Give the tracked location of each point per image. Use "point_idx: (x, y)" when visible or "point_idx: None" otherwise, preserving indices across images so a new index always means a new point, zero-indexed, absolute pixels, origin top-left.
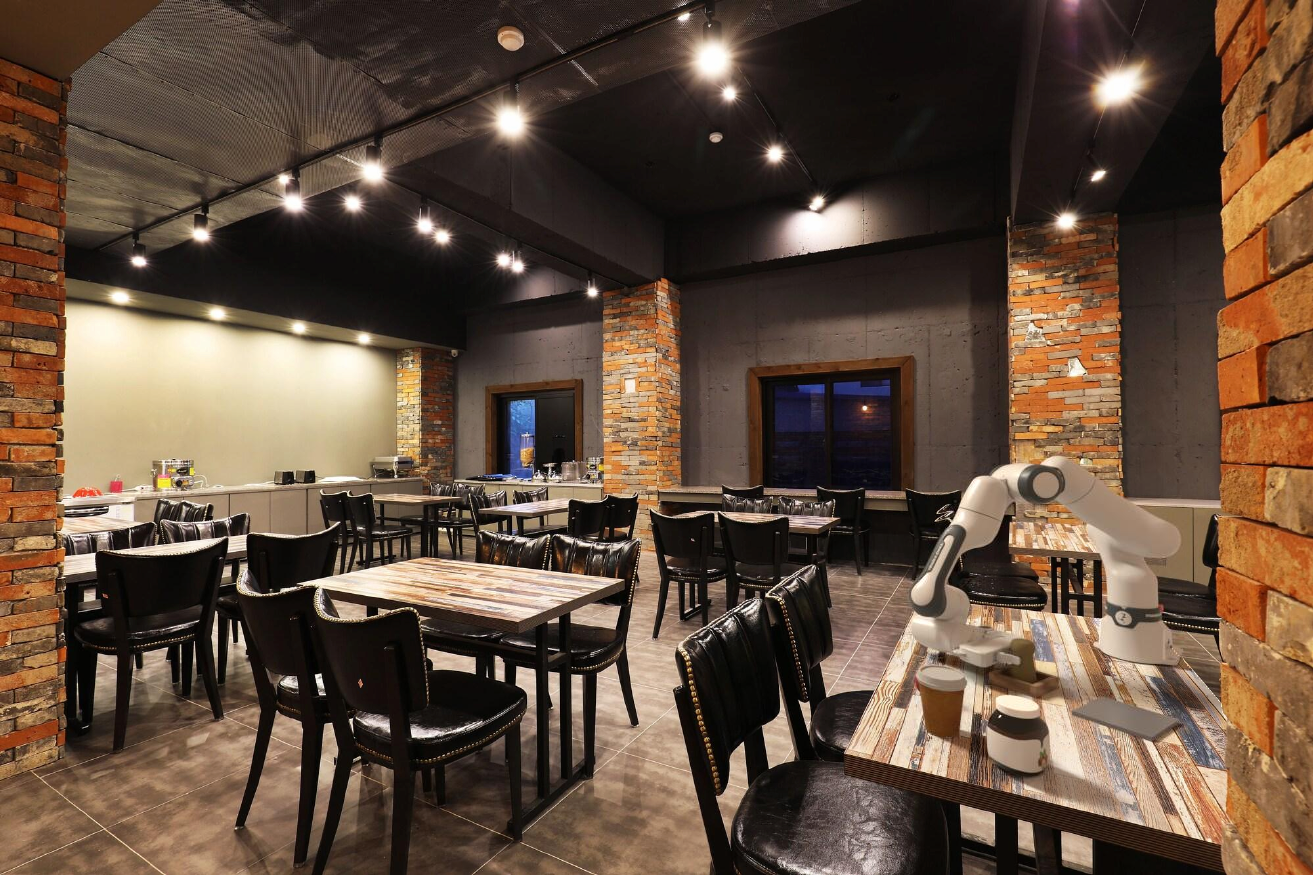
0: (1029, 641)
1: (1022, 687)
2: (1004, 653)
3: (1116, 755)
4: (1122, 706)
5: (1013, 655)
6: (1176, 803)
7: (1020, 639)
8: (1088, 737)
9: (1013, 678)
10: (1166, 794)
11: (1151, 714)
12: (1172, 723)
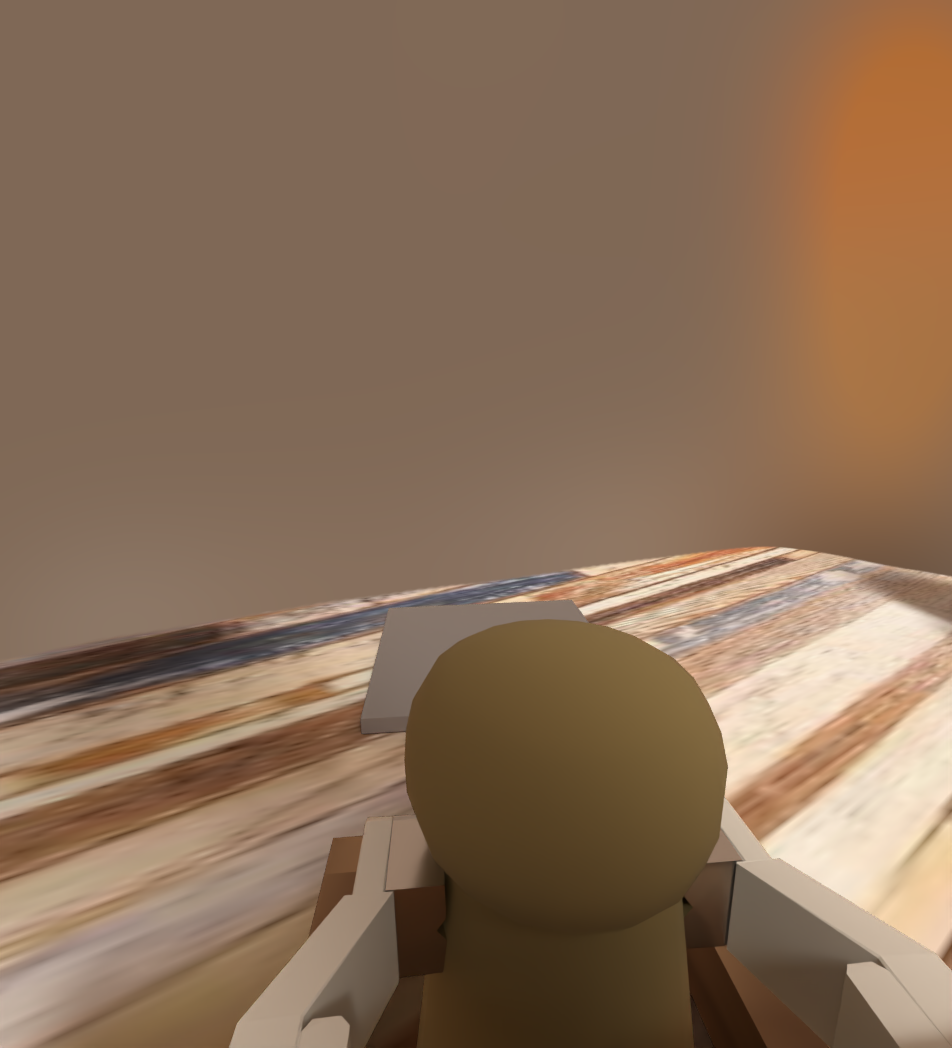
0: (519, 625)
1: None
2: (848, 973)
3: (729, 610)
4: (416, 665)
5: (733, 852)
6: (752, 561)
7: (581, 659)
8: (731, 648)
9: (760, 1023)
10: (746, 567)
11: (412, 629)
12: (433, 606)
